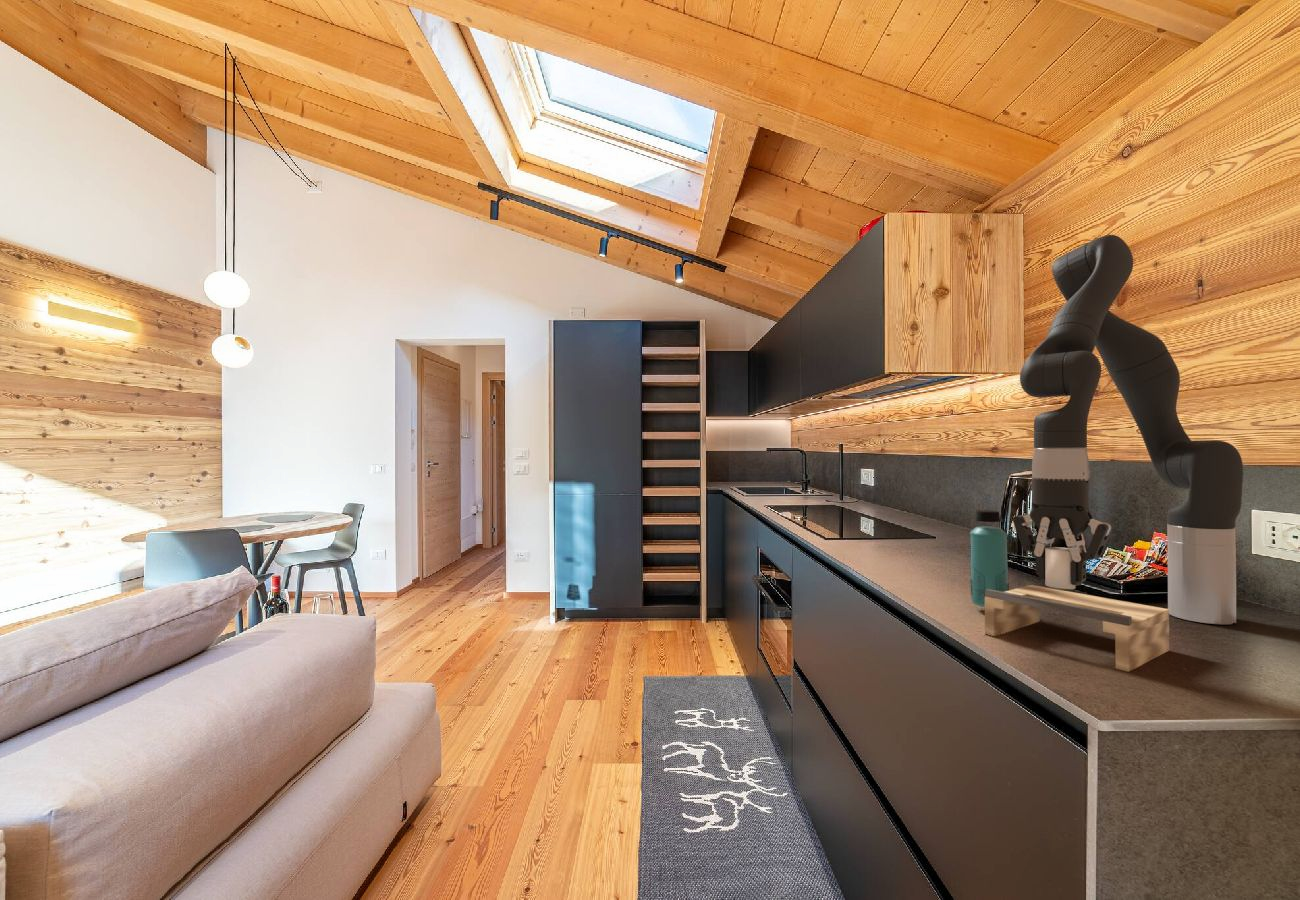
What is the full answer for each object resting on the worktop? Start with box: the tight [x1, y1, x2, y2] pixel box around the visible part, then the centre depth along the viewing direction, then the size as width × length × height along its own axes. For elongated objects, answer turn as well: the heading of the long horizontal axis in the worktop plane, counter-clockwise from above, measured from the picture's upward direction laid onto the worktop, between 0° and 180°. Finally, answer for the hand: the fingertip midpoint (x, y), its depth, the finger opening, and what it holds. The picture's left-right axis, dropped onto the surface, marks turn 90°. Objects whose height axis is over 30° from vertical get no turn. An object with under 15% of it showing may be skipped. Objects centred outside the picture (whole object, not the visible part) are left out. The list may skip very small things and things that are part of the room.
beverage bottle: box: [969, 509, 1010, 608], centre depth 113 cm, size 6×7×20 cm
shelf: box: [984, 584, 1170, 673], centre depth 95 cm, size 16×20×8 cm
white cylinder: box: [1044, 546, 1077, 590], centre depth 93 cm, size 4×4×6 cm
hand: (1060, 581), depth 93 cm, fingers closed on white cylinder, 4 cm apart
